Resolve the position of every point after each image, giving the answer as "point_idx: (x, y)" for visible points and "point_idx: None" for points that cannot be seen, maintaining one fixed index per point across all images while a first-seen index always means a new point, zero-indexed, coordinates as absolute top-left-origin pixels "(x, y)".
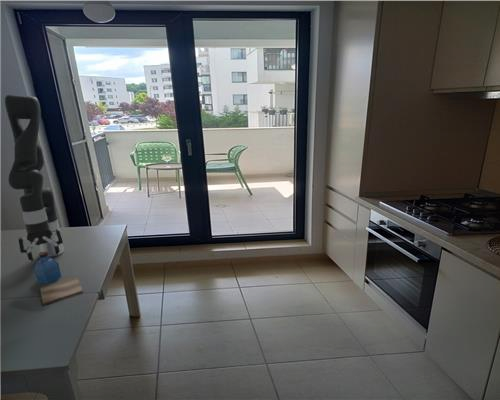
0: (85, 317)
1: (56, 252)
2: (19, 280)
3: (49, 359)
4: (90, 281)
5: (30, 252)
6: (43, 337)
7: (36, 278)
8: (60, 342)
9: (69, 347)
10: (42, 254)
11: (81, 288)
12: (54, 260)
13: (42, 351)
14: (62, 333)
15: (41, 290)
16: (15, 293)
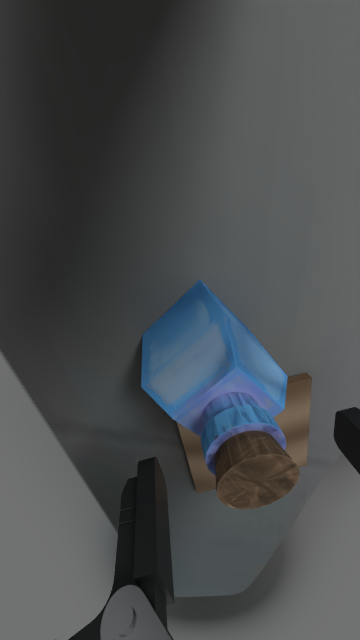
0: (285, 533)
1: (356, 462)
2: (39, 284)
3: (221, 589)
4: (338, 409)
5: (162, 601)
6: (208, 561)
7: (144, 345)
8: (236, 570)
9: (249, 578)
10: (251, 502)
11: (305, 455)
12: (284, 399)
13: (209, 580)
14: (240, 558)
15: (182, 431)
16: (77, 403)
